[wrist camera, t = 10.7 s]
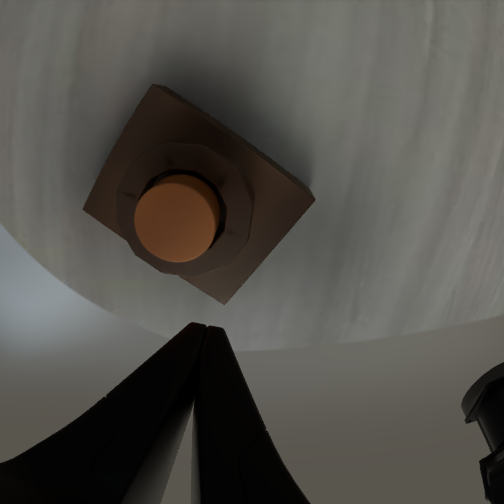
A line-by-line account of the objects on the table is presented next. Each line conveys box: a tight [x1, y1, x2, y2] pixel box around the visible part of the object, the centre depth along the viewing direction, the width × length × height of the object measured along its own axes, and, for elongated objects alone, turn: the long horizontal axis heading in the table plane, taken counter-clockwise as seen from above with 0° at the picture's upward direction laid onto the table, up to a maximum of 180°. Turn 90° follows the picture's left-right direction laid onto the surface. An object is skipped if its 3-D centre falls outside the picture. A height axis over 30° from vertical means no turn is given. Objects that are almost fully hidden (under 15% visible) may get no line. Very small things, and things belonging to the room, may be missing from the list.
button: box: [134, 174, 220, 262], centre depth 14 cm, size 4×4×2 cm
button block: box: [83, 84, 315, 305], centre depth 16 cm, size 10×8×4 cm
